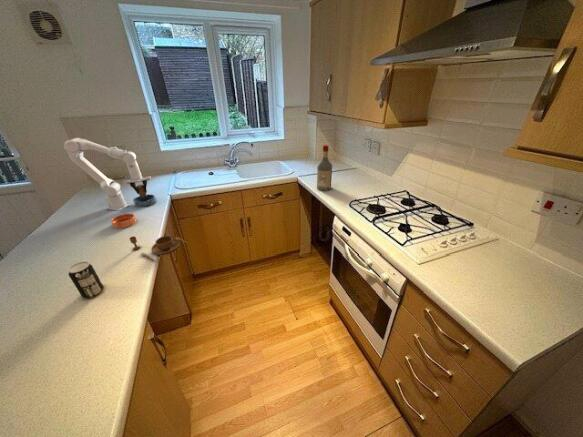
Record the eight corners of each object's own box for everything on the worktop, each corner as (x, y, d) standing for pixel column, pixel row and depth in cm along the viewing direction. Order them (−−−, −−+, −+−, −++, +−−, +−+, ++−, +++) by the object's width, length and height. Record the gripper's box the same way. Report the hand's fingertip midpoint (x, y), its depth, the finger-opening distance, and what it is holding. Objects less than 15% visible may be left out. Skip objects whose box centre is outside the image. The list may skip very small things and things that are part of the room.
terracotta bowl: (108, 228, 128) (105, 222, 126) (124, 219, 138) (122, 212, 136) (126, 230, 126) (123, 223, 125) (141, 220, 136) (139, 214, 134)
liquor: (329, 191, 166) (331, 147, 151) (316, 190, 168) (317, 146, 154) (331, 186, 173) (333, 144, 159) (319, 185, 176) (320, 143, 161)
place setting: (155, 263, 101) (151, 252, 98) (130, 249, 111) (126, 239, 108) (190, 243, 114) (187, 232, 111) (165, 232, 124) (162, 222, 121)
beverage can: (90, 286, 90) (75, 261, 85) (108, 285, 91) (94, 260, 85) (77, 299, 85) (61, 274, 79) (97, 298, 85) (82, 272, 79)
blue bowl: (131, 207, 152) (128, 201, 150) (144, 199, 162) (142, 194, 160) (147, 208, 150) (145, 202, 148) (160, 200, 160) (158, 194, 158)
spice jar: (138, 197, 152) (134, 186, 148) (143, 194, 155) (139, 184, 152) (144, 197, 151) (140, 186, 148) (148, 195, 155) (144, 184, 151)
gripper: (120, 176, 139) (128, 197, 146) (148, 171, 146) (155, 192, 152) (121, 173, 145) (129, 193, 151) (148, 168, 151) (154, 188, 158)
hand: (142, 192), depth 152 cm, fingers closed on spice jar, 4 cm apart
